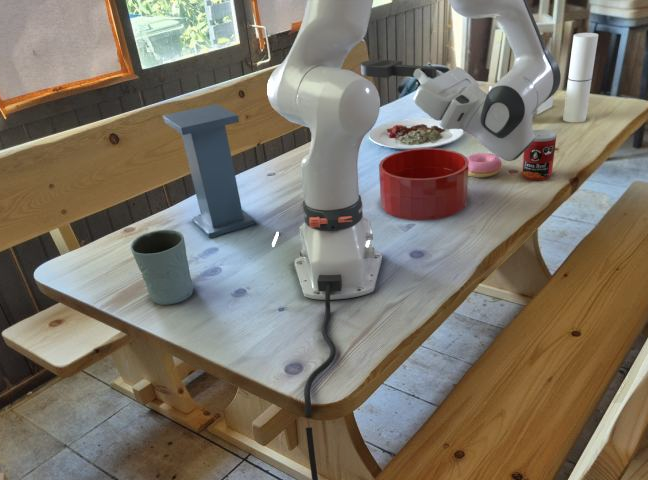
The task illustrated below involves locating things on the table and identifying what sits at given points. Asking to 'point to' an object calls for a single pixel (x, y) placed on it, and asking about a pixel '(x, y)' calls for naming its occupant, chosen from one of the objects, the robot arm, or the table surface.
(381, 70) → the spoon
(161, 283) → the green cup
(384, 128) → the plated food
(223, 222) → the stand
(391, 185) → the pot
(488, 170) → the doughnut
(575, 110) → the cylindrical container
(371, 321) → the table surface
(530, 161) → the canned food
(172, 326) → the table surface
